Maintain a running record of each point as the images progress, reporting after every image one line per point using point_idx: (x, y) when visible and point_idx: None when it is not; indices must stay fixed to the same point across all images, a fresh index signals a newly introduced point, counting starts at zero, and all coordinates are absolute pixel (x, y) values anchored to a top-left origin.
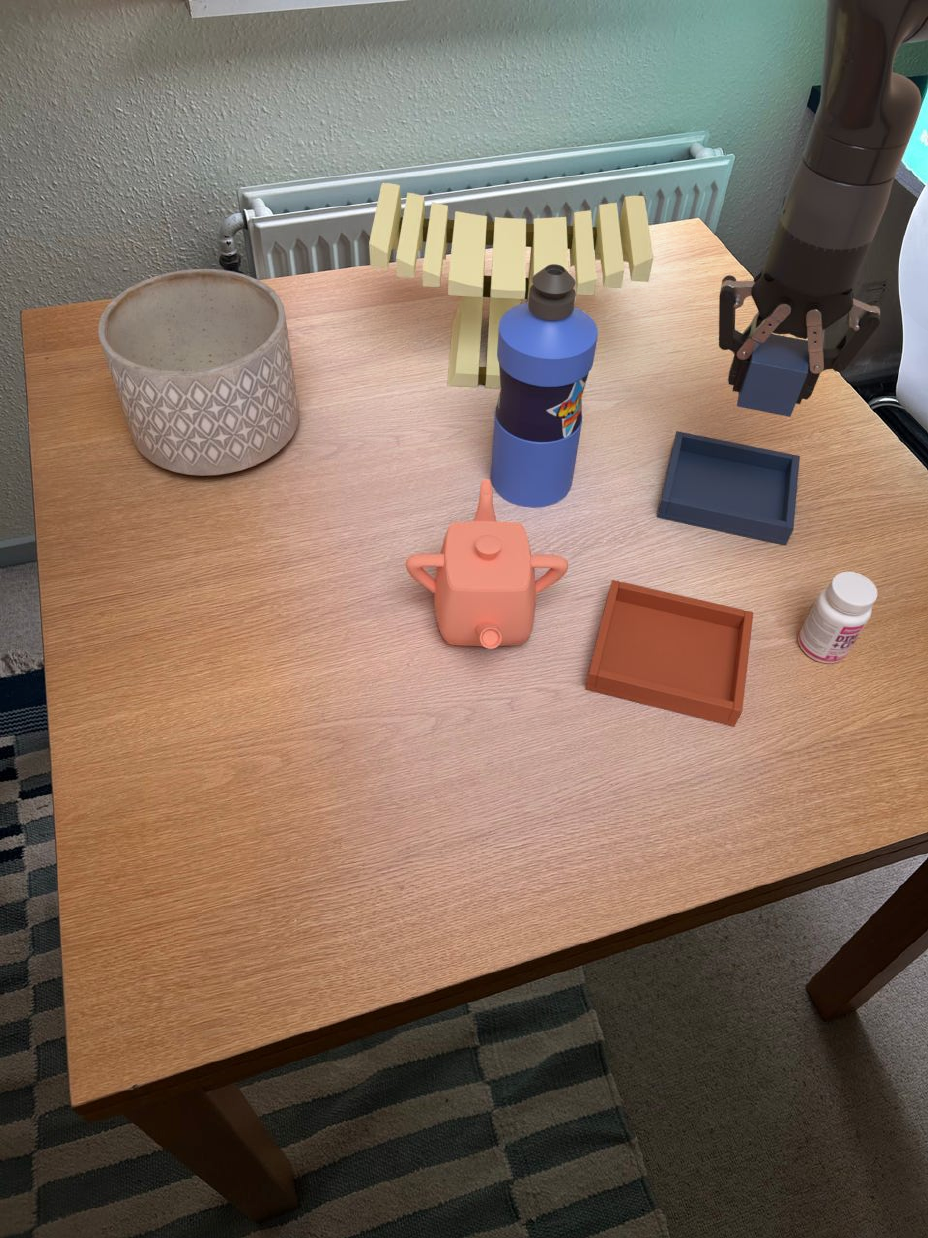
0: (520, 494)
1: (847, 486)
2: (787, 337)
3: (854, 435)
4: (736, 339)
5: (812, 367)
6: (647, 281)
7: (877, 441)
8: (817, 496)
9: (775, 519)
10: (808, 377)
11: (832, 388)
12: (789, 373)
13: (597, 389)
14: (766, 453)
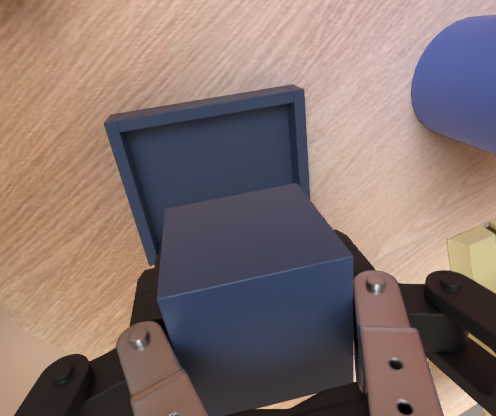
0: (491, 15)
1: (79, 260)
2: (263, 403)
3: (106, 339)
4: (427, 315)
5: (153, 334)
6: (484, 409)
7: (78, 343)
8: (107, 226)
9: (136, 129)
10: (156, 306)
11: None
12: (215, 275)
13: (401, 264)
14: None
